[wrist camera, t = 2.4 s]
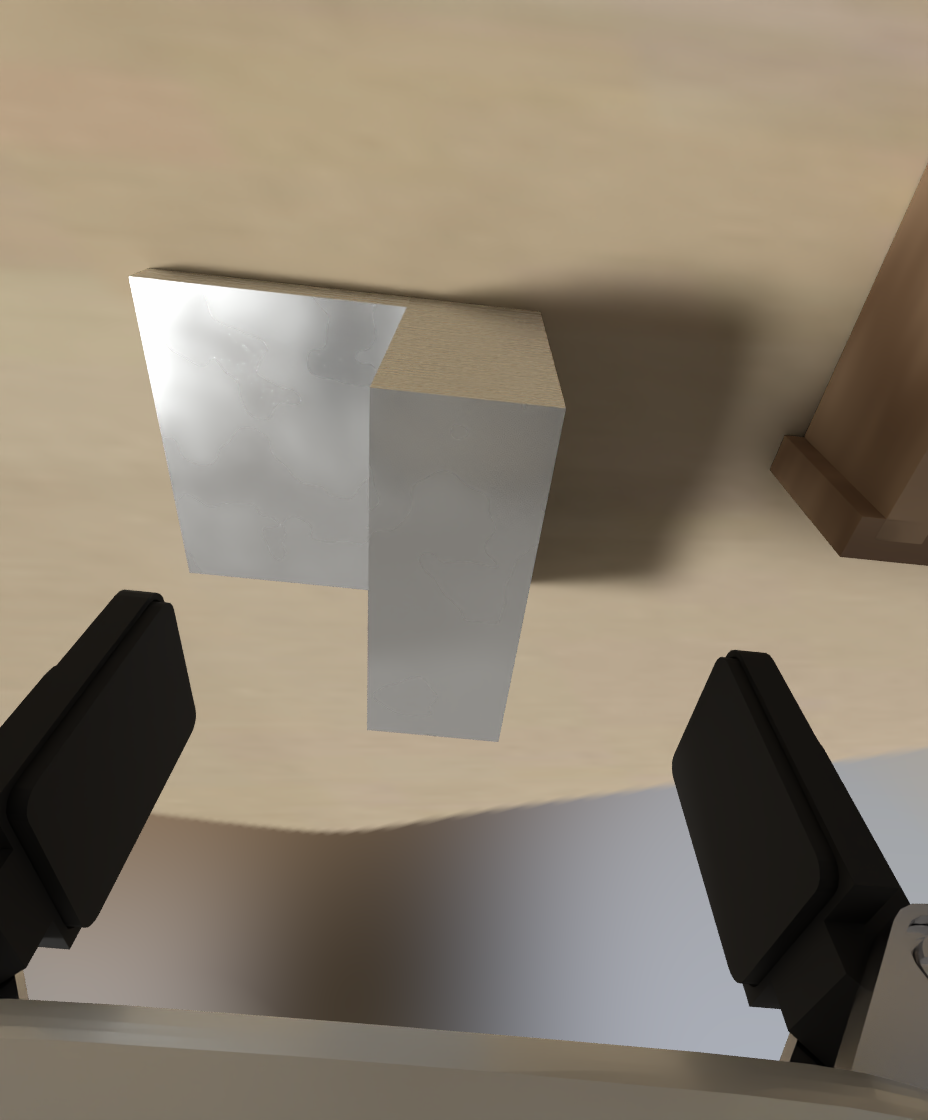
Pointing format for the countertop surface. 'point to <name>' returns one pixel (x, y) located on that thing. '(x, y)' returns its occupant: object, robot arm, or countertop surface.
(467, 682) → the aluminium bracket
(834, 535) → the walnut corner walls
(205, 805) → the countertop surface
